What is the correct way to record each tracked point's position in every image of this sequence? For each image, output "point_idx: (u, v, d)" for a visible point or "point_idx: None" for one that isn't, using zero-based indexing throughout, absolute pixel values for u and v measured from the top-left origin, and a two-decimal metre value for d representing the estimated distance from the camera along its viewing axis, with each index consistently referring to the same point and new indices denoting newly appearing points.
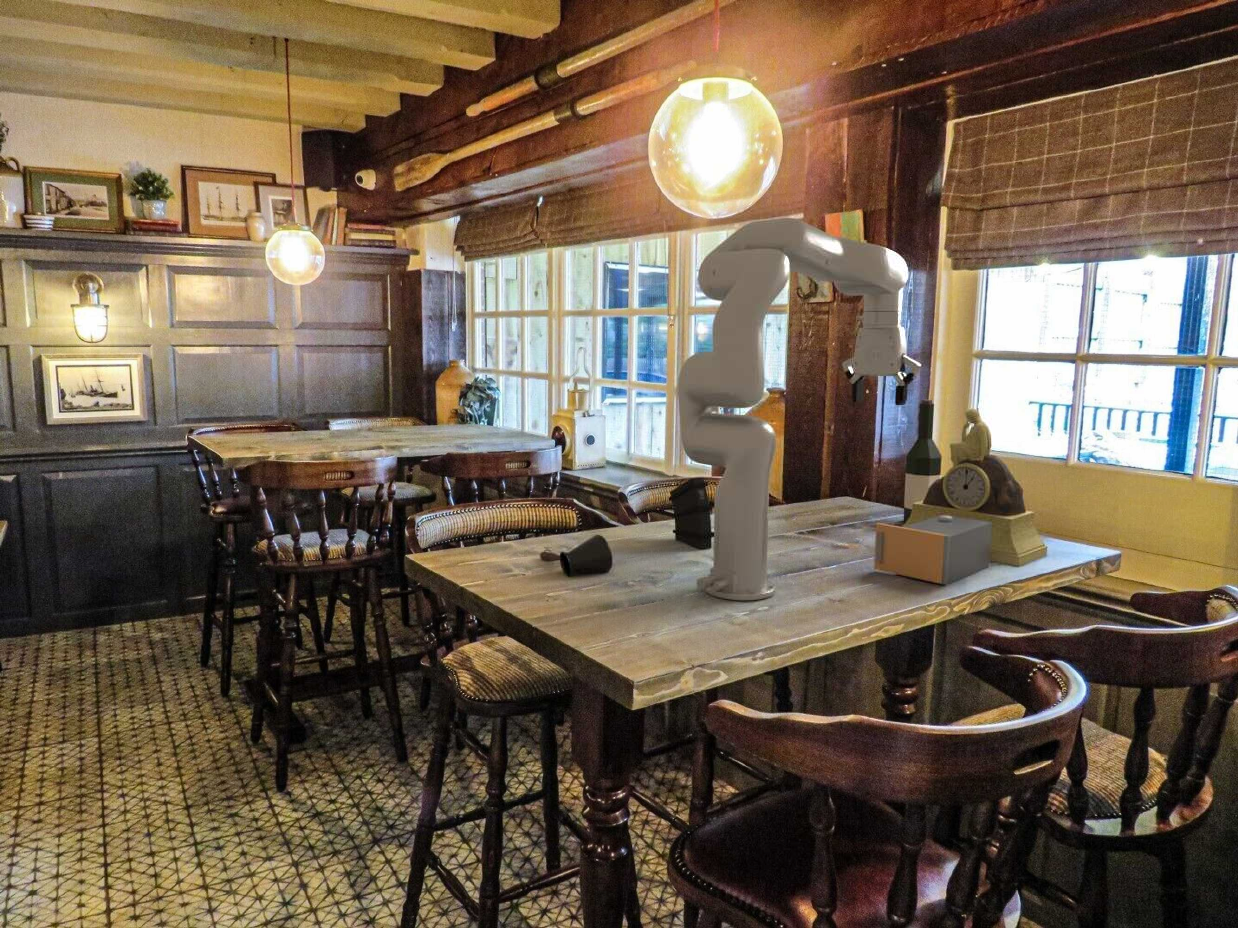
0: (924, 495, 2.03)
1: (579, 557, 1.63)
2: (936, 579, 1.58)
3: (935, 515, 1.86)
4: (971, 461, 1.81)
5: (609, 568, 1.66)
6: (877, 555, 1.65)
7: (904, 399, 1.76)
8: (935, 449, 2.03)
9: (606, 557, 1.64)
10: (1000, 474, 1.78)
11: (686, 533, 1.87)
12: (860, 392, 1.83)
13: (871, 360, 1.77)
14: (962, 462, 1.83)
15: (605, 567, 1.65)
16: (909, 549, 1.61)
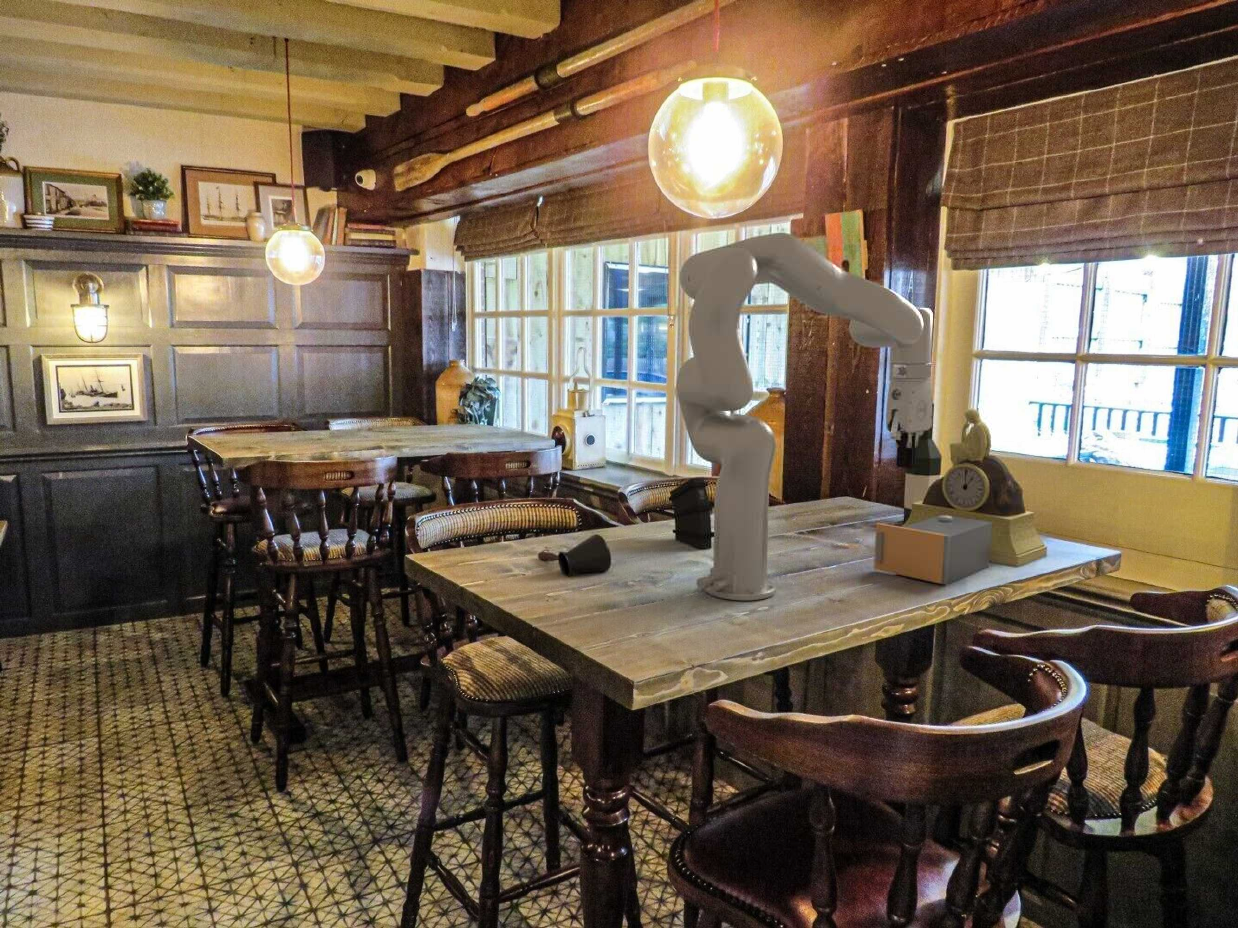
0: (924, 495, 2.03)
1: (578, 557, 1.64)
2: (936, 579, 1.58)
3: (934, 515, 1.85)
4: (970, 461, 1.80)
5: (608, 567, 1.66)
6: (877, 555, 1.65)
7: None
8: (935, 449, 2.03)
9: (604, 556, 1.65)
10: (1000, 475, 1.78)
11: (686, 533, 1.87)
12: None
13: (919, 415, 1.64)
14: (962, 462, 1.82)
15: (604, 567, 1.65)
16: (909, 549, 1.61)
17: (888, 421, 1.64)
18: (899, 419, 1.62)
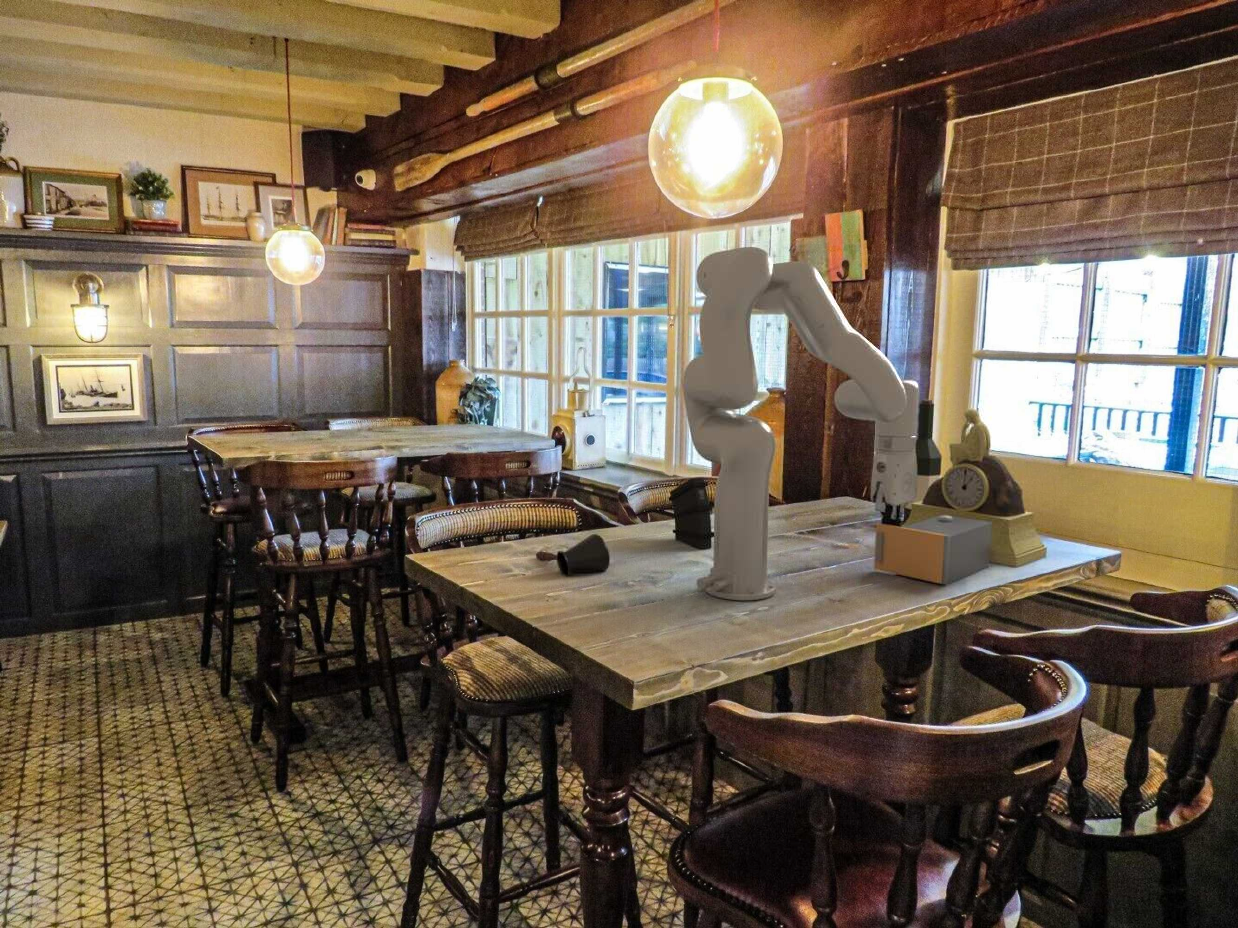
0: (924, 495, 2.03)
1: (577, 557, 1.64)
2: (936, 579, 1.58)
3: (934, 515, 1.85)
4: (970, 461, 1.80)
5: (606, 567, 1.66)
6: (877, 555, 1.65)
7: None
8: (935, 449, 2.03)
9: (603, 556, 1.65)
10: (999, 475, 1.77)
11: (686, 533, 1.87)
12: None
13: (904, 488, 1.63)
14: (961, 462, 1.82)
15: (602, 566, 1.66)
16: (909, 549, 1.61)
17: (873, 493, 1.63)
18: (884, 492, 1.61)
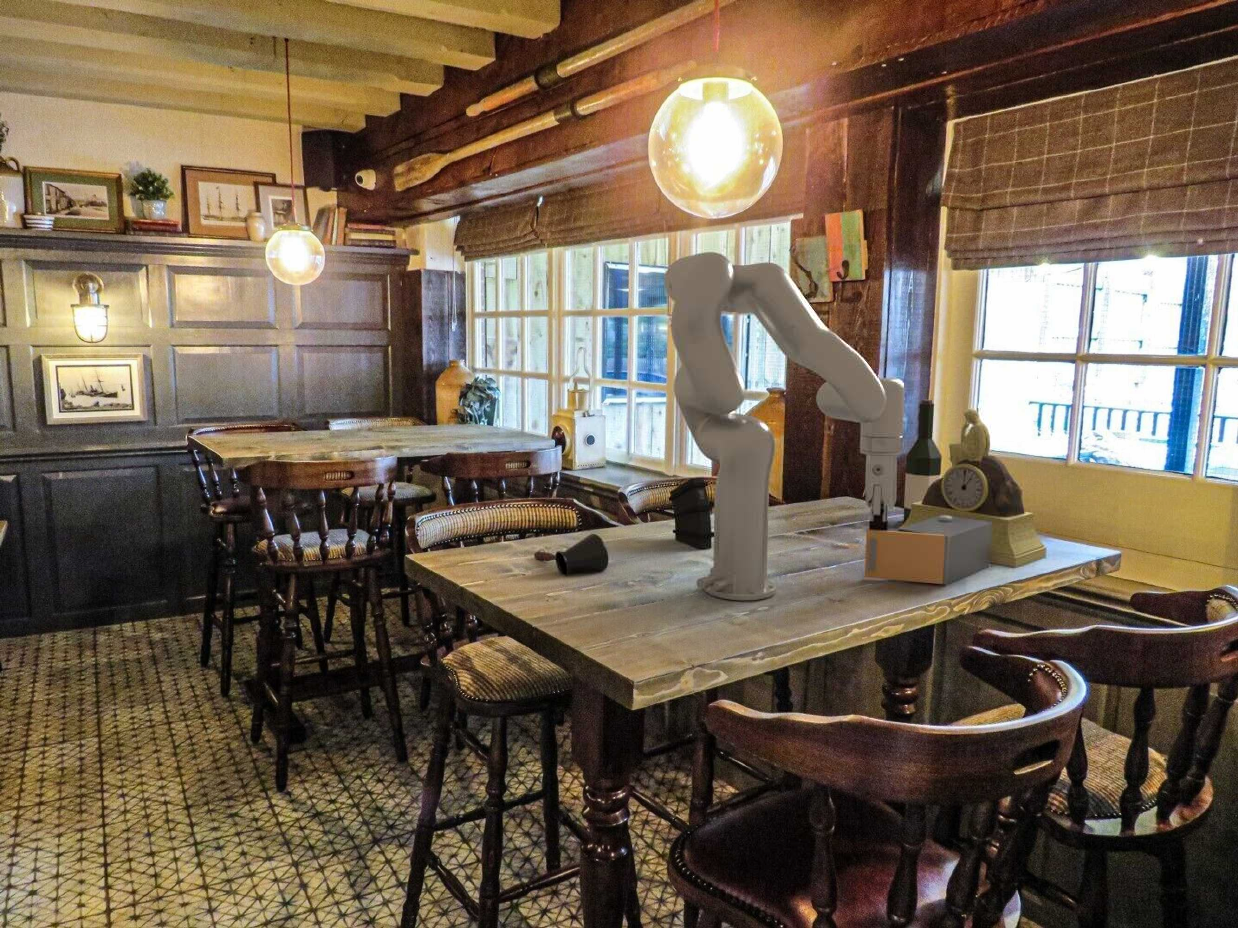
0: (924, 495, 2.03)
1: (576, 557, 1.64)
2: (937, 580, 1.57)
3: (933, 515, 1.85)
4: (969, 462, 1.80)
5: (605, 567, 1.67)
6: (870, 563, 1.60)
7: None
8: (935, 449, 2.03)
9: (602, 556, 1.65)
10: (998, 475, 1.77)
11: (686, 533, 1.87)
12: None
13: None
14: (961, 462, 1.82)
15: (601, 566, 1.66)
16: (905, 553, 1.58)
17: (869, 497, 1.57)
18: (883, 495, 1.56)
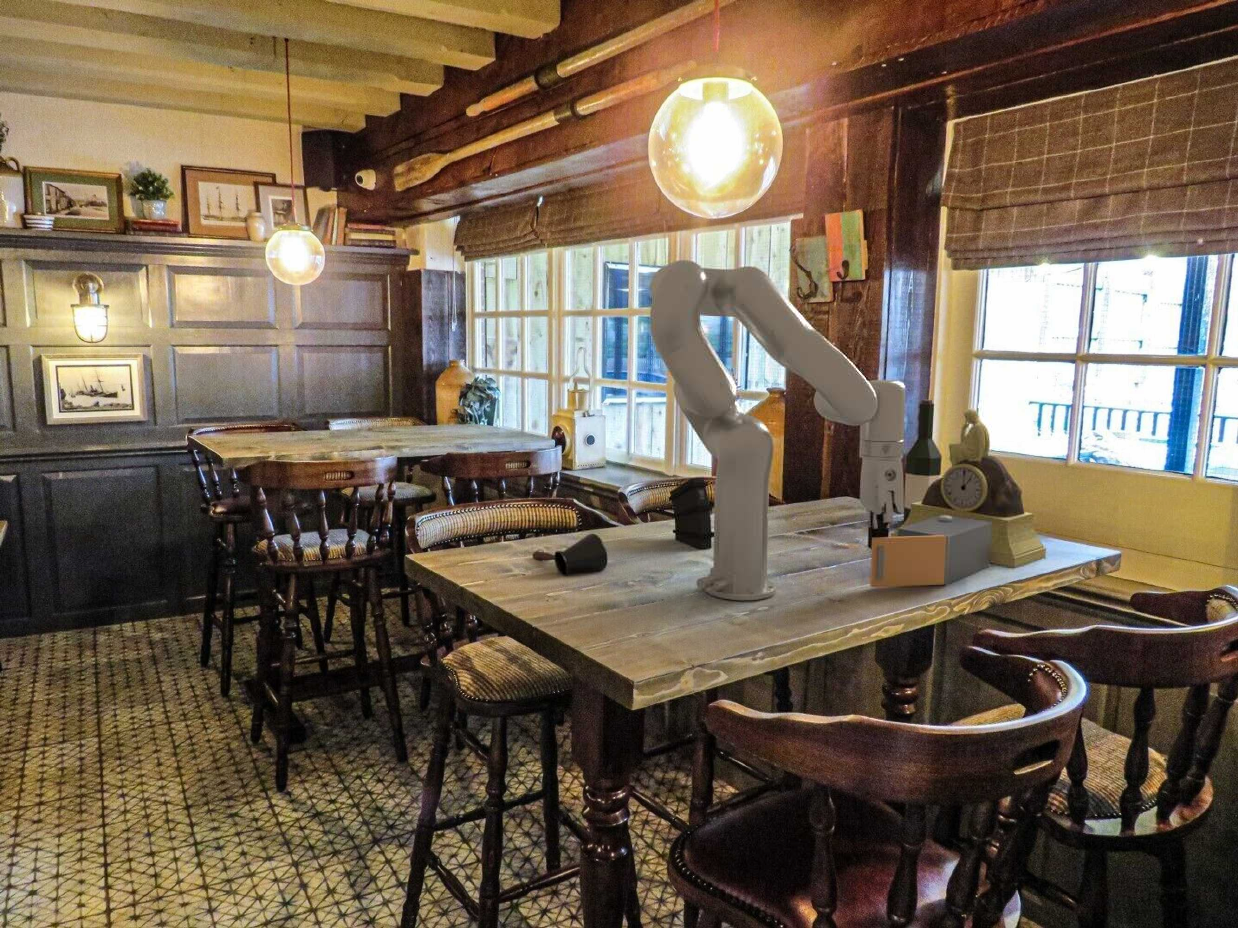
0: (924, 495, 2.03)
1: (575, 556, 1.64)
2: (938, 581, 1.57)
3: (933, 516, 1.85)
4: (969, 462, 1.80)
5: (604, 566, 1.67)
6: (878, 572, 1.54)
7: None
8: (935, 449, 2.03)
9: (601, 555, 1.65)
10: (998, 475, 1.77)
11: (686, 533, 1.87)
12: None
13: None
14: (960, 463, 1.82)
15: (600, 566, 1.66)
16: (910, 557, 1.55)
17: (882, 504, 1.51)
18: (895, 501, 1.51)
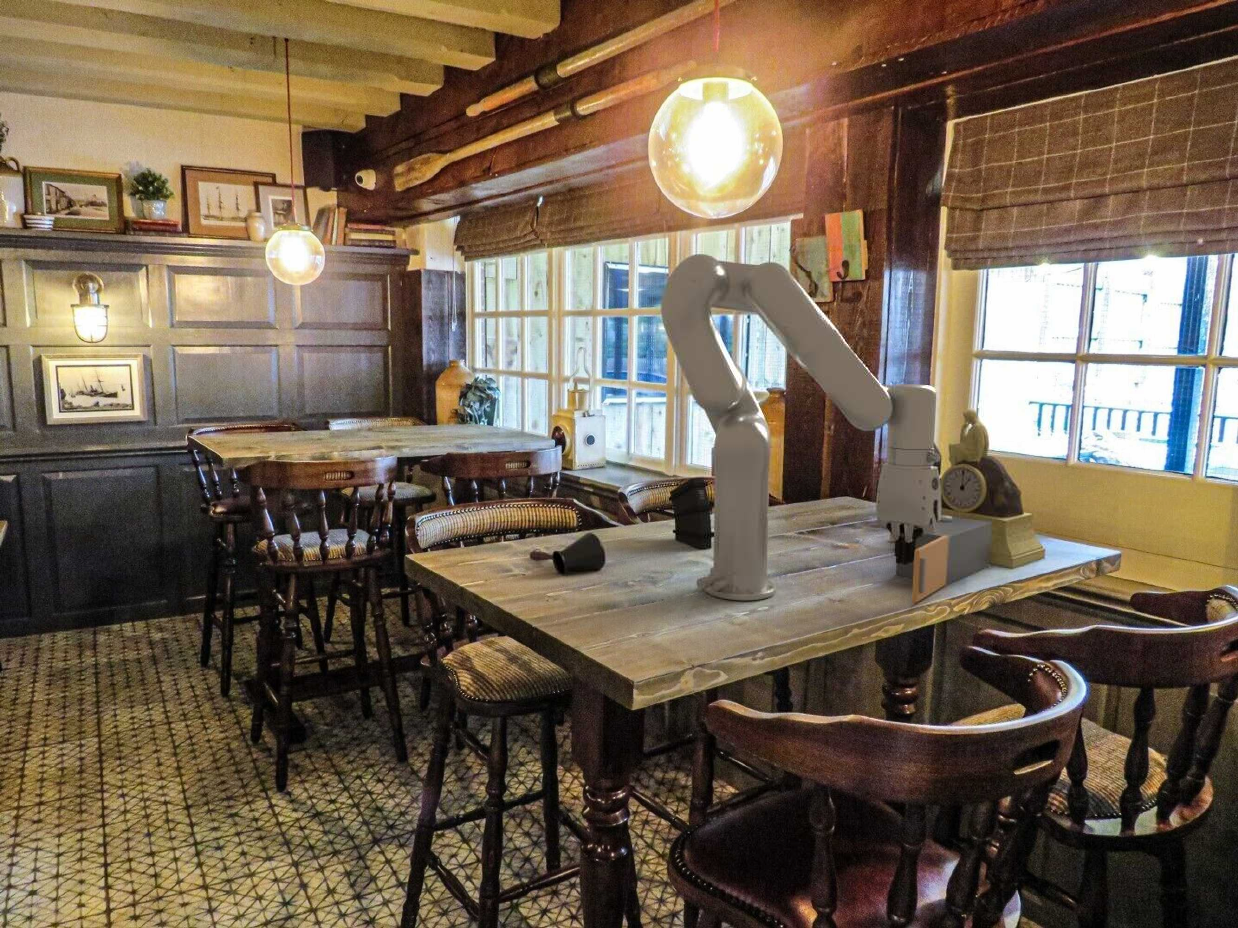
0: None
1: (573, 556, 1.65)
2: (944, 582, 1.56)
3: None
4: (968, 462, 1.80)
5: (602, 566, 1.67)
6: (923, 584, 1.46)
7: None
8: (935, 449, 2.03)
9: (599, 555, 1.66)
10: (997, 475, 1.76)
11: (686, 533, 1.87)
12: None
13: None
14: (959, 463, 1.81)
15: (598, 565, 1.67)
16: (933, 564, 1.51)
17: (931, 515, 1.43)
18: (938, 510, 1.44)
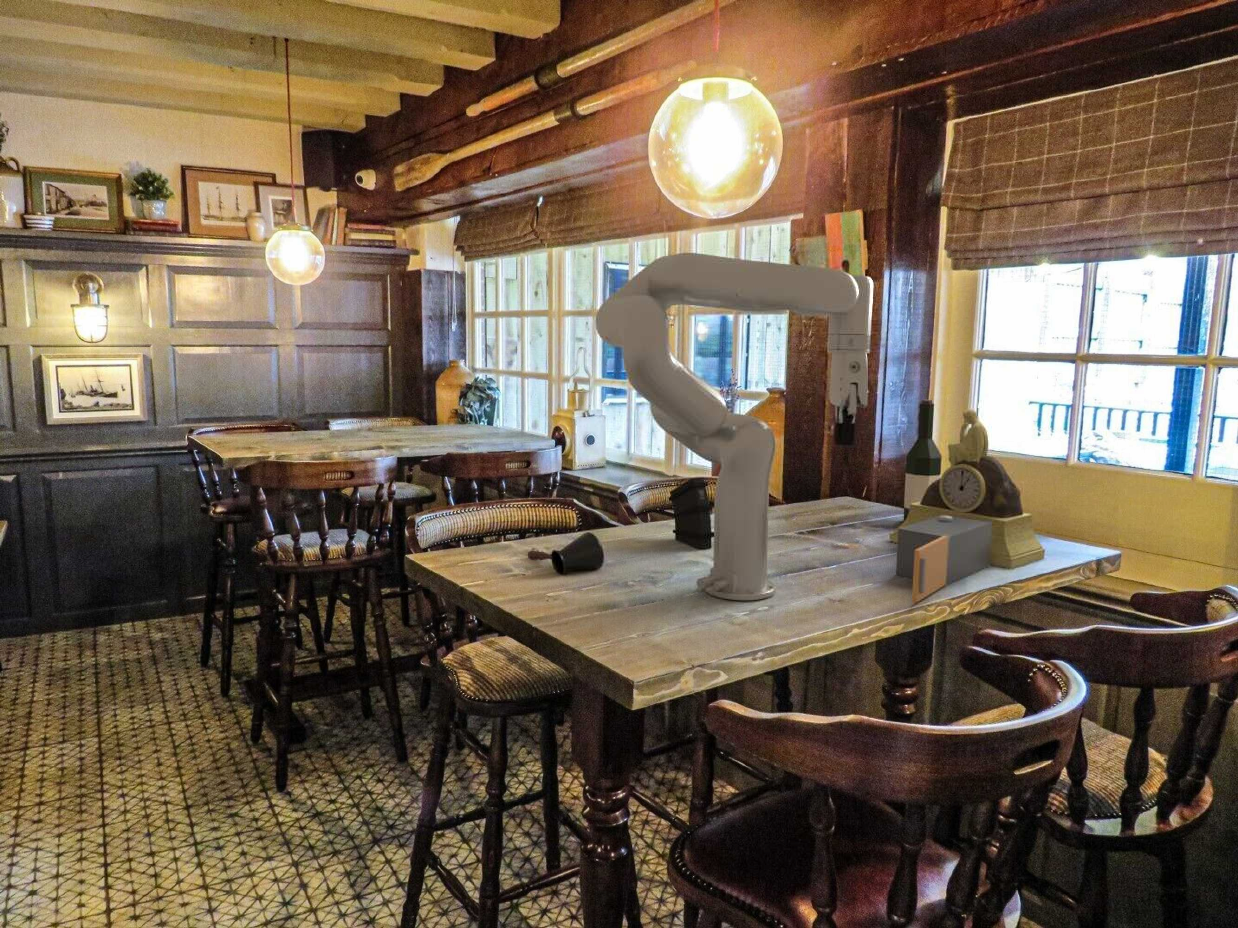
0: None
1: (572, 555, 1.65)
2: (944, 582, 1.56)
3: (931, 516, 1.84)
4: (967, 462, 1.79)
5: (600, 565, 1.68)
6: (923, 584, 1.46)
7: None
8: (935, 449, 2.03)
9: (597, 554, 1.66)
10: (996, 476, 1.76)
11: (686, 533, 1.87)
12: None
13: None
14: (959, 463, 1.81)
15: (597, 564, 1.67)
16: (933, 564, 1.51)
17: (846, 396, 1.53)
18: (859, 393, 1.53)
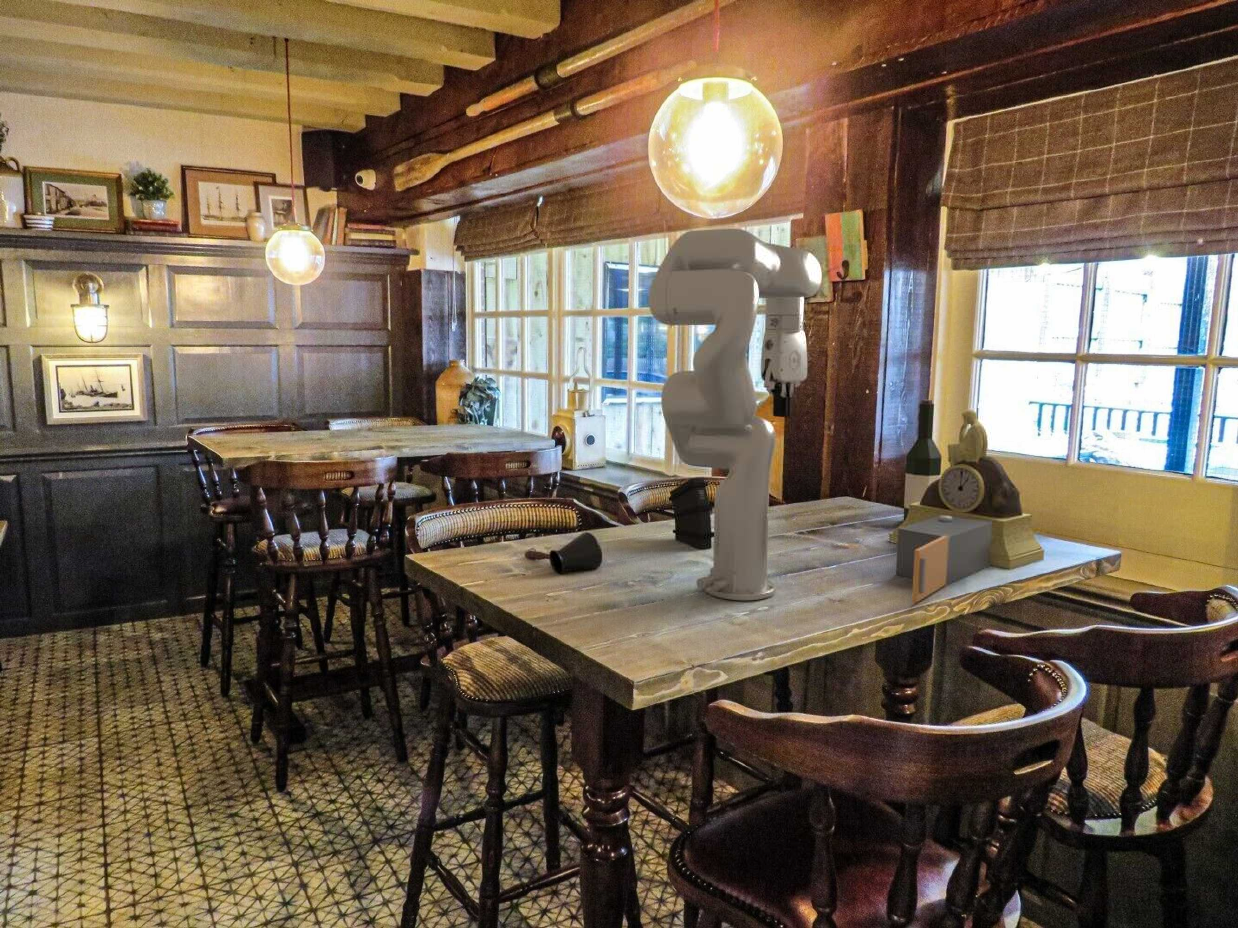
0: None
1: (570, 555, 1.65)
2: (944, 582, 1.56)
3: (931, 516, 1.84)
4: (966, 462, 1.79)
5: (599, 565, 1.68)
6: (923, 584, 1.46)
7: None
8: (935, 449, 2.03)
9: (596, 554, 1.67)
10: (995, 476, 1.76)
11: (686, 533, 1.87)
12: None
13: (792, 365, 1.71)
14: (958, 463, 1.81)
15: (595, 564, 1.68)
16: (933, 564, 1.51)
17: (762, 371, 1.71)
18: (771, 368, 1.69)
